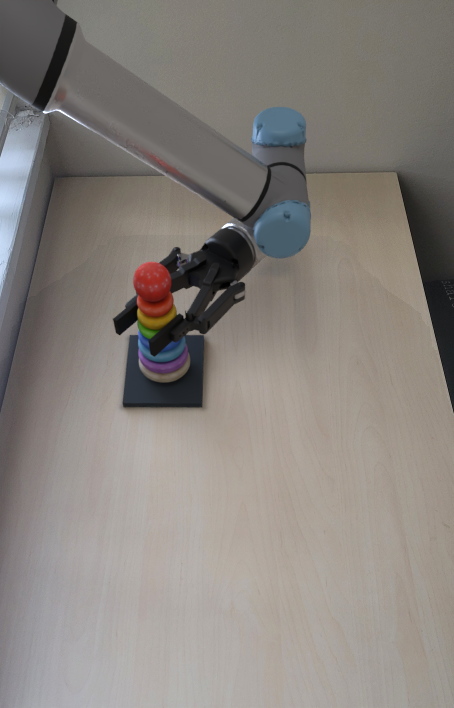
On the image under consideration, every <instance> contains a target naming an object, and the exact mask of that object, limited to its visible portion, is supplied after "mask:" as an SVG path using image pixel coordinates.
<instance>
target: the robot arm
mask: <svg viewBox="0 0 454 708" xmlns="http://www.w3.org/2000/svg"><path fill="white" fill-rule="evenodd" d="M58 3H59V0H0V85H1V87H3V88H5V89H6V90H7V91H9V92H10V93H11V94H13V95H14V96H16V97H17V98H18V99H20V100H22V101H23V102H25V103H27V104H29V105H30V106H32V107H34V108H35V109H37V110H38V111H40V112H42V113H44V114H48V113H53V112H55V111H57V112H60V113H62V114H63V115H65V116H67V117H69V118H70V119H72V120H74V121H75V122H77V123H78V124H79V125H82V126H83V127H85V128H87V129H89V130H90V131H91V132H93V133H95V134H96V135H98V136H99V137H101V138H102V139H105V140H106V141H107V142H109V143H111V144H113V145H115V146H116V147H117V148H119V149H121V150H123V151H124V152H126V153H127V154H129V155H130V156H132V157H133V158H136V159H137V160H139V161H141V162H142V163H144V164H145V165H147V166H149V167H151V168H152V169H154V170H155V171H157V172H158V173H160V174H162V175H163V176H165V177H167V178H168V179H170V180H172V181H173V182H175V183H177V184H178V185H180V186H181V187H182V188H184V189H186V190H188V191H190V192H191V193H193V194H194V195H196V196H198V197H199V198H200V199H203V200H204V201H206V202H208V203H209V204H211V205H213V206H214V207H216V208H217V209H218V210H221V211H222V212H224V213H226V214H227V215H229V216H231V217H232V218H231V219H230V220H229V221H228V222H226V224H224V225H223V226H222V227H221V228H220V229H218V230H217V231H216V232H214V233H213V234H212V235H211V236H210V237H209V238H208V239H206V240H205V242H204V243H203V244H202V246H201V247H200V249H198V250H197V251H193V252H191V253H190V254H188V253H184V252H182V249H181V248H180V247H179V246H175V247H174V246H173V248H172V249H171V251H170V253H168V255H167V256H166V257H164V258H163V259H162V260H160V261H159V262H158V263H160V264H162V265H163V266H164V267H165V268H166V269H167V270H168V272H169V274H170V276H171V288H170V292H171V293H172V294H174V293H177V292H178V291H180V290H183V289H185V290H188V289H190V288H193V287H196V288H198V289H199V291H198V293H197V294H196V296H195V298H194V299H193V301H192V302H191V305H190V306H189V308H188V310H184V315H185V317H184V315H183V314H181V313H178V314H177V316H176V317H175V318H173V319H172V320H171V321H170V322H169V323H168V324H167V325H165V326H164V327H163V328H162V329H161V330H160V331H159V332H157V333H156V334H155V335H154V336H153V337H152V338H151V339H150V340H148V341H149V348H150V354H151V355H152V356H154V357H155V356H156V355H157V354H158V353H160V352H161V351H162V350H163V349H164V348H165V347H166V346H167V345H168V344H170V343H171V342H172V341H173V342H175V343H176V342H178V341H179V340H181V338H183V337H184V336H185V335H188V334H189V333H190V332H193V331H198V332H199V335H207V334H208V332H209V331H210V330H211V329H212V328H213V327H214V326H216V324H218V322H219V321H220V320H221V319H222V318H223V317H224V316H225V315H226V314H227V313H228V312H229V311H230V309H232V307H233V306H234V305H236V304H238V303H240V302H242V301H244V300H245V299H246V283H245V282H244V281H241V280H242V279H243V278H244V277H245V276H246V275H248V274H249V273H250V271H252V269H254V268H255V267H256V266H257V265H258V264H259V263H261V262H262V261H263V260H264V259H266V257H270V258H273V259H278V260H279V259H289V258H291V257H293V256H296V255H297V254H298V253H300V252H301V251H302V250H303V249H304V248H305V247H306V245H307V244H308V242H309V240H310V237H311V231H312V230H311V229H312V227H311V224H312V221H311V220H312V211H311V201H310V198H309V193H308V192H309V191H308V182H307V171H306V163H305V162H306V161H305V147H306V143H307V136H306V134H307V121H306V118H305V117H304V115H303V114H302V113H301V112H299V111H298V110H296V109H294V108H291V107H288V106H271V107H268V108H265V109H263V110H261V111H260V112H259V113H258V114H257V115H256V116H255V117H254V119H253V123H252V125H253V126H252V134H251V135H252V136H251V138H250V141H251V154H250V153H249V152H248V151H246V150H245V149H243V148H242V146H241V147H240V146H239V145H238V144H236V143H234V142H233V141H232V140H230V139H229V138H228V137H226V136H225V135H223V134H222V133H221V132H219V131H218V130H216V129H214V128H213V127H212V126H210V125H209V124H207V123H206V122H205V121H202V120H201V119H200V118H199V117H197V116H196V115H194V114H193V113H191V112H190V111H188V110H187V109H186V108H184V107H183V106H181V105H180V104H179V103H177V102H176V101H174V100H172V99H171V98H169V96H167V95H165V94H164V93H162V92H161V91H159V90H158V89H157V88H155V87H154V86H152V85H151V84H149V83H148V82H147V81H145V80H144V79H142V78H141V77H139V76H138V75H136V74H135V73H134V72H132V71H131V70H129V69H128V68H127V67H125V66H123V65H122V64H120V63H119V62H117V61H116V60H115V59H113V58H111V56H109V55H107V54H106V53H105V52H103V51H102V50H100V49H99V48H97V47H96V46H95V45H92V44H91V43H90V42H88V40H86V38H85V36H84V32H83V29H82V27H81V24H80V22H78V21H77V20H75V19H74V18H72V17H71V16H69V15H68V14H67V13H65V12H64V11H62V10H61V9H60V7H58ZM219 291H223V292H222V293H221V294H220V295H219V296H218V297H217V298H216V299H215V296H216V295H217V292H219ZM137 297H138V294H137V292H136V291H135V295H134V296H133V297H132V298H131V299H129V300H128V301H127V302H126V303H125V304H124V309H123V310H122V311H120V312H119V313H118V314H117V315H116V316H114V317H113V318H112V322H113V326H114V331H115V334H117V335H118V336H121V335H122V334H123V333H125V332H126V331H127V330H128V329H129V328H130V327H131V326H133V325H134V324H135V323H137V321H138V316H137V311H138V305H137ZM214 299H215V300H214ZM213 300H214V301H213ZM210 302H213V303H211V304H210ZM209 304H210V305H209Z"/></svg>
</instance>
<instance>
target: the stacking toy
mask: <svg viewBox="0 0 454 708" xmlns="http://www.w3.org/2000/svg"><path fill="white" fill-rule="evenodd" d="M132 284H133V285H132V286H133V288H134V291H135V293H136V292H137V294H138V297H137V305H138V311H137V316H138V320H137V321H136V325H137V329H138V330H137V335H138V337H139V340H138V346H139V351H138V355H139V367H140V369H141V371H142V373H143V374H144V375H145V376H146V377H147V378H149V379H151V380H153V381H156V382H172V381H175V380H177V379H179V378H181V377H182V376H183V375H184V374H185V373H186V372H187V370H188V369H189V366H190V355H189V352H188V348H187V345H186V343H185V342H186V341H185V336H184V337H183V338H181V340H179V341H178V342H176V343H175V342H173V341H172V342H171V343H170V344H168V345H167V346H166V347H165V348H164V349H163V350H162V351H161V352H160V353H158V354H157V355H156V356H155V357H154V356H152V355H151V354H150V348H149V341H148V340H150V339H151V338H152V337H153V336H154V335H155V334H156V333H157V332H159V331H160V330H161V329H162V328H163V327H164V326H165V325H167V324H168V323H169V322H170V321H171V320H172V319H173V318H175V317H176V316H177V315H178V314H177V308H176V305H175V303H174V302H175V299H174V295H173V293H171V292H170V288H171V276H170V274H169V272H168V270H167V269H166V268H165V267H164V266H163V265H162V264H160V263H159V262H158V261H146V262H143V263H142V264H140V265H139V266H138V267H137V268H136V269H135V272H134V274H133V278H132Z"/></svg>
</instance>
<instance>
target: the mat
mask: <svg viewBox="0 0 454 708" xmlns="http://www.w3.org/2000/svg"><path fill="white" fill-rule="evenodd" d="M138 340H139V337H138V334H129V338H128V348H127V357H126V367H125V375H124V376H125V377H124V384H123V385H124V386H123V393H122V395H123V396H122V407H123V408H203V398H204V397H203V395H204V394H203V393H204V391H203V389H204V358H205V355H204V354H205V334H186V335H185V341H186V342H185V343H186V345H187V348H188V352H189V355H190V366H189V369H188V370H187V372H186V373H185V374H184V375H183V376H182V377H181V378H179V379H177V380H175V381H172V382H156V381H153V380H151V379H149V378H147V377H146V376H145V375H144V374H143V373H142V371H141V369H140V367H139V355H138V351H139V346H138Z"/></svg>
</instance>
